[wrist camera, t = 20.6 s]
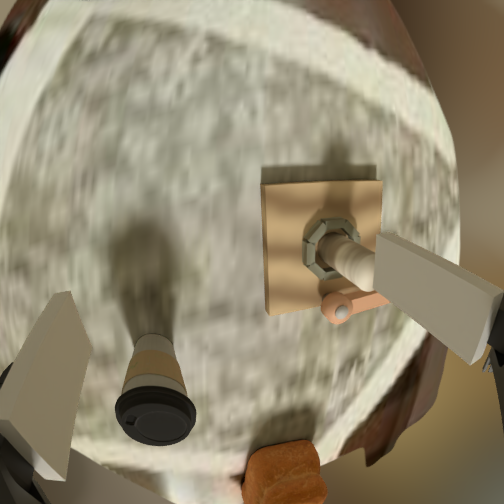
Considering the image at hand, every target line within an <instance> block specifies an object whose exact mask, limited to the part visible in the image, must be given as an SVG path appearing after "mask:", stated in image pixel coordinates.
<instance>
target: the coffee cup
mask: <svg viewBox="0 0 504 504" xmlns="http://www.w3.org/2000/svg"><path fill="white" fill-rule="evenodd" d="M115 413H116V418H117V421H118V422H119V424H120V425H121V427H122V428H123V430H124V432H125V433H126V434H127V435H128V436H129V437H131V438H132V439H134V440H136V441H138V442H140V443H143V444H147V445H152V446H167V445H172V444H175V443H178V442H180V441H182V440H183V439H185V438H186V437H187V436H188V435H189V433H190V431H191V430H192V428H193V427H194V425H195V422H196V409H195V406H194V404H193V403H192V401H191V400H190V399H189V398H188V397H187V391H186V388H185V384H184V381H183V377H182V374H181V370H180V366H179V364H178V362H177V359H176V355H175V352H174V348H173V345H172V343H171V342H170V341H169V340H168V339H167V338H165V337H163V336H161V335H157V334H147V335H144V336H142V337H141V338H140V339H139V340H138V341H137V343H136V345H135V348H134V352H133V355H132V359H131V360H130V363H129V366H128V369H127V373H126V377H125V381H124V384H123V388H122V395H121V396H120V397H119V398H118V400H117V402H116V405H115Z"/></svg>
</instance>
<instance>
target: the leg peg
mask: <svg viewBox="0 0 504 504" xmlns="http://www.w3.org/2000/svg"><path fill="white" fill-rule="evenodd" d="M317 253H318V256H319V257H320V259H321V260H323V261H324V262H325V263H327V264H328V265H329V266H331V267H332V268H333V269H335V270H336V271H337V272H339V273H340V274H341V275H343V276H344V277H346V278H347V279H348V280H350V281H351V282H352V283H353V284H355V285H356V286H357V287H359V288H360V289H361V290H363V291H366V292H370V291H373V290H374V289H373V277H374V265H375V252H373V251H371V250H369V249H368V248H366V247H364V246H362V245H360V244H358V243H356V242H354V241H352V240H351V239H349V238H347V237H345V236H343V235H341V234H339V233H337V232H329V233H327V234H325V235H324V236H323V237H322V238H321V239H320V241H319V243H318V246H317Z"/></svg>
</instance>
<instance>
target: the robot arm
mask: <svg viewBox="0 0 504 504" xmlns="http://www.w3.org/2000/svg"><path fill="white" fill-rule="evenodd" d="M373 289H374V290H375V291H377V292H378V293H379V294H381V295H382V296H383V297H385V298H386V299H387V300H389V301H390V302H391V303H393V304H394V305H395V306H396V307H398V308H399V309H400V310H402V311H403V312H404V313H406V314H407V315H408V316H409V317H411V318H412V319H413V320H415V321H416V322H417V323H418V324H420V325H421V326H422V327H423V328H425V329H426V330H427V331H428V332H430V333H431V334H432V335H434V336H435V337H436V338H437V339H439V340H440V341H441V342H442V343H443V344H445V345H446V346H447V347H448V348H450V349H451V350H452V351H454V352H455V353H456V354H457V355H458V356H460V357H461V358H462V359H463V360H464V361H466V362H467V363H468V364H469V365H471V364H473V363H474V362H475V361H477V360H478V359H480V358H481V357H482V354H483V352H484V349H485V347H486V345H487V343H488V344H489V345H491V346H492V347H491V350H490V352H489V355H488V357H487V359H486V362H485V364H484V366H483V372H485V371H486V369H487V366H488V365H490V364H491V366H490V368H489V371H488V372H493V373H494V378H495V382H496V387H497V393H498V398H499V404H500V409H501V415H502V423H503V430H504V290H502V289H500V288H498V287H497V286H495V285H493V284H491V283H490V282H488V281H486V280H484V279H482V278H480V277H478V276H477V275H475V274H473V273H471V272H469V271H467V270H466V269H464V268H462V267H460V266H458V265H456V264H454V263H452V262H450V261H448V260H446V259H444V258H442V257H440V256H438V255H436V254H434V253H432V252H430V251H428V250H426V249H424V248H422V247H420V246H418V245H416V244H414V243H412V242H410V241H407V240H405V239H403V238H401V237H399V236H397V235H395V234H392V233H390V232H386V233H380V234H376V250H375V265H374V277H373ZM91 351H92V345H91V343H90V341H89V338H88V336H87V334H86V331H85V329H84V326H83V324H82V321H81V319H80V316H79V314H78V311H77V308H76V305H75V303H74V300H73V297H72V294H71V291H66V292H60V293H54V295H53V297H52V298H51V300H50V301H49V303H48V304H47V306H46V307H45V309H44V311H43V312H42V314H41V315H40V317H39V319H38V320H37V322H36V324H35V325H34V327H33V329H32V330H31V332H30V334H29V336H28V337H27V339H26V341H25V343H24V344H23V346H22V348H21V350H20V352H19V354H18V355H17V357H16V359H15V361H14V362H12V363H11V364H10V365H9V366H8V367H7V368H6V369H5V370H4V371H3V373H2V375H1V377H0V504H51V503H50V501H49V500H48V499H47V497H46V495H45V494H44V492H43V490H42V489H41V487H40V485H39V484H38V483H37V482H36V481H35V479H33V478H32V476H33V471H34V469H35V470H36V471H37V472H38V473H39V474H40V475H41V476H42V477H44V478H45V479H49V480H59V481H66V475H67V467H68V459H69V453H70V446H71V440H72V434H73V429H74V423H75V418H76V413H77V408H78V403H79V399H80V394H81V390H82V386H83V382H84V378H85V374H86V370H87V366H88V362H89V358H90V355H91Z"/></svg>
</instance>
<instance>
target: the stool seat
mask: <svg viewBox="0 0 504 504" xmlns="http://www.w3.org/2000/svg"><path fill="white" fill-rule="evenodd" d="M260 185H261V208H262V232H263V257H264V284H265V310H266V311H267V313H268V315H269V316H274V315H279V314H284V313H289V312H294V311H299V310H304V309H309V308H313V307H318V306H321V304H322V301H323V300H324V298H325V297H326V296H327V295H328V294H330V293H332V292H340V293H342V294H347V293H351V292H355V291H359V290H361V289H360V288H359V287H357V286H356V285H355V284H353V283H352V282H351V281H350V280H348V279H347V278H346V277H344V276H343V275H341V274H340V273H339V272H337V271H336V270H335V269H333V268H332V267H331V266H329V265H328V264H327V263H325V262H324V261H323V260H321V259H320V257H319V256H318V253H317V246H318V243H319V241H320V239H321V238H322V237H323V236H324V235H325V234H327V233H329V232H337V233H339V234H341V235H343V236H345V237H347V238H349V239H351V240H352V241H354V242H356V243H358V244H360V245H362V246H364V247H366V248H368V249H369V250H371V251H373V252H375V250H376V234H380V229H381V212H382V181H380V180H329V181H305V182H287V183H271V184H260Z"/></svg>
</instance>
